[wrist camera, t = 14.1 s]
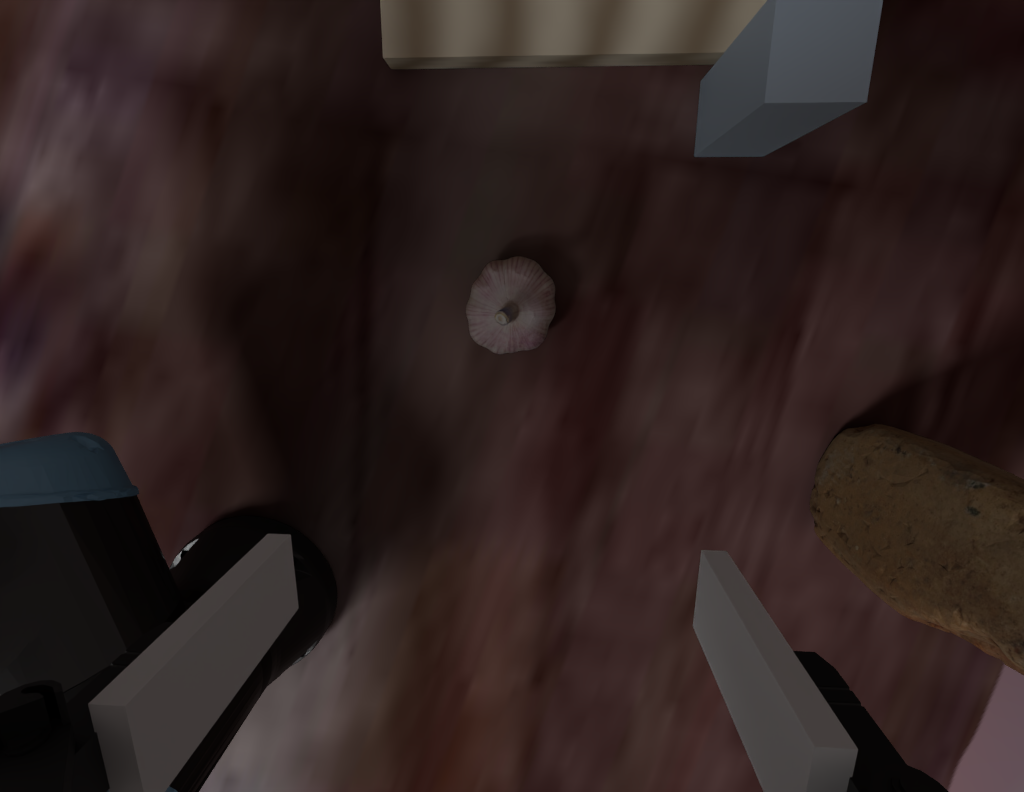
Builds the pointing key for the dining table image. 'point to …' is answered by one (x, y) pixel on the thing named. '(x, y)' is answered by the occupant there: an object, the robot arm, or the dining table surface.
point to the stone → (928, 533)
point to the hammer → (787, 75)
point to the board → (559, 32)
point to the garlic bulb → (511, 305)
